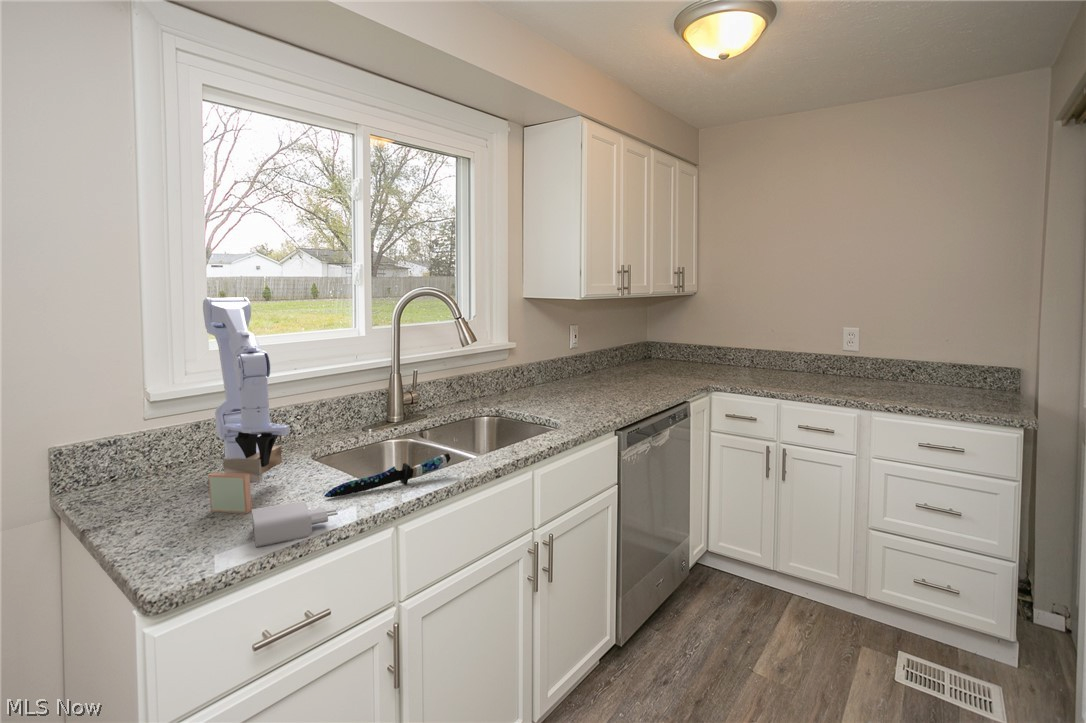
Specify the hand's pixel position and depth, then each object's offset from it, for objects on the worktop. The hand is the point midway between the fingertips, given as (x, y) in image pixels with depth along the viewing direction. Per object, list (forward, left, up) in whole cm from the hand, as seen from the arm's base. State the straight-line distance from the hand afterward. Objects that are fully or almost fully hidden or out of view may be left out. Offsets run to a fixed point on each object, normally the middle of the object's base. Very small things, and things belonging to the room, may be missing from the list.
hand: (258, 465), depth 132 cm
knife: (-7, +28, -7) cm, 30 cm away
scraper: (0, 0, -2) cm, 2 cm away
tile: (+11, 0, -6) cm, 12 cm away
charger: (+18, +18, -7) cm, 27 cm away
